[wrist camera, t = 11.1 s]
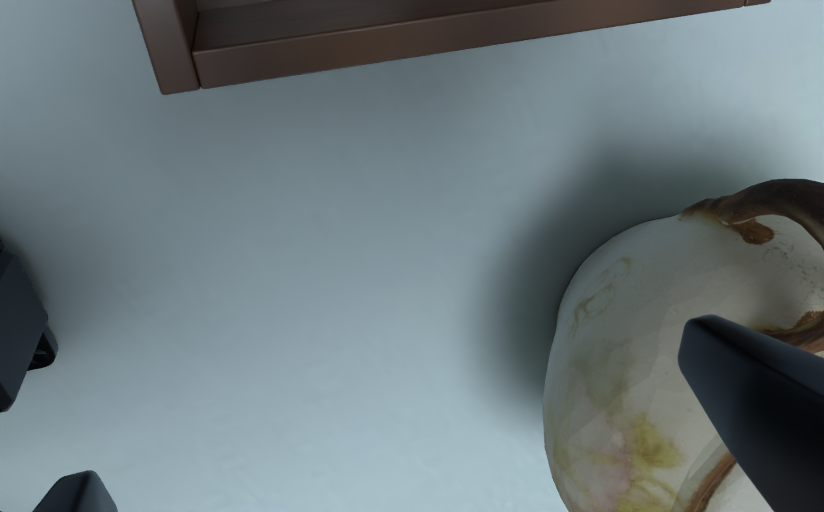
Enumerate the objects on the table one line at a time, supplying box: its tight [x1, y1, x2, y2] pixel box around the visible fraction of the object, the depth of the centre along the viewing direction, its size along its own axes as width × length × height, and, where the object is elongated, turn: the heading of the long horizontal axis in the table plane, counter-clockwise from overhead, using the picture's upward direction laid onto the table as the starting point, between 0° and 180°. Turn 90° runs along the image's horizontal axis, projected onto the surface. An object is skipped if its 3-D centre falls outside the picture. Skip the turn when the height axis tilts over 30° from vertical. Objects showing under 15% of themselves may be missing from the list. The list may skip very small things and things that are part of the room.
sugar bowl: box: [543, 179, 824, 512], centre depth 20 cm, size 20×15×15 cm
